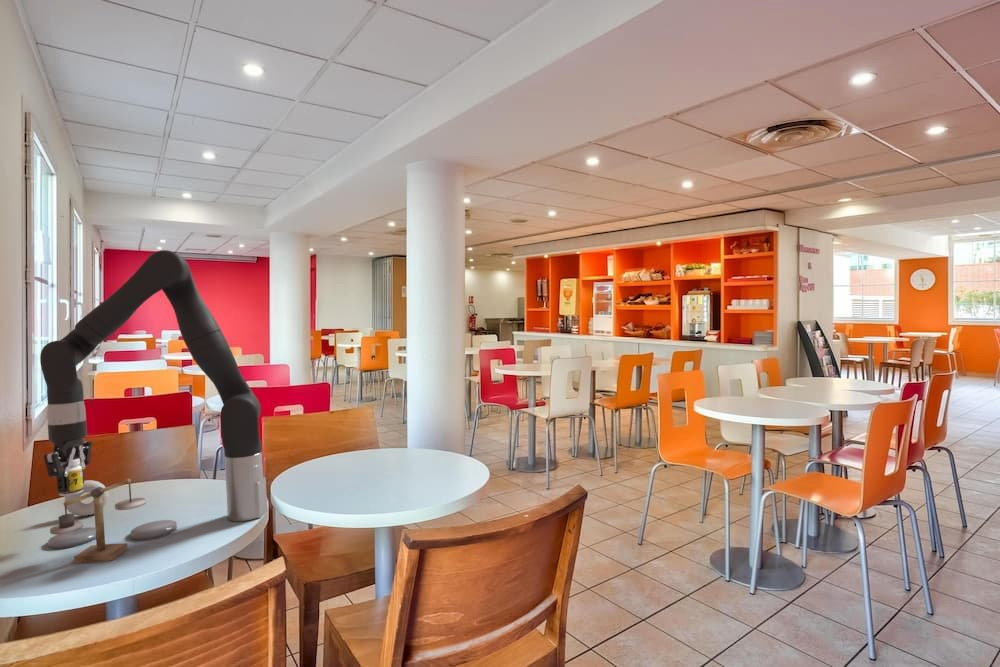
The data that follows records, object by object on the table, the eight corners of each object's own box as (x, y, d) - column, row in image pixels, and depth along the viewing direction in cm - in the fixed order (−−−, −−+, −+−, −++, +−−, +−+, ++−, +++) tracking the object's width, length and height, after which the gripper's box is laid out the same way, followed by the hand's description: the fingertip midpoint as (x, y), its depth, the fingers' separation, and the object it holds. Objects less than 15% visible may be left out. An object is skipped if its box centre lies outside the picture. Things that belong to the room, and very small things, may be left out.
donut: (64, 521, 150) (62, 485, 149) (66, 517, 153) (64, 482, 152) (108, 513, 155) (106, 478, 154) (110, 510, 158) (108, 475, 157)
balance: (154, 547, 131) (149, 474, 130) (140, 558, 125) (135, 482, 124) (64, 553, 129) (59, 479, 128) (45, 565, 123) (40, 487, 122)
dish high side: (184, 523, 146) (183, 518, 145) (164, 538, 136) (164, 534, 136) (144, 525, 145) (144, 521, 145) (122, 541, 135) (121, 536, 135)
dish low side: (108, 530, 142) (107, 526, 142) (82, 547, 132) (81, 542, 132) (67, 533, 141) (66, 528, 141) (38, 550, 131) (37, 545, 131)
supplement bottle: (56, 497, 133) (54, 463, 132) (61, 492, 137) (59, 459, 137) (81, 494, 135) (79, 460, 135) (85, 488, 139) (83, 456, 139)
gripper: (62, 425, 128) (67, 497, 129) (101, 414, 143) (105, 478, 143) (28, 427, 128) (33, 498, 129) (70, 415, 142) (75, 480, 143)
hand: (71, 487), depth 136 cm, fingers closed on supplement bottle, 4 cm apart
